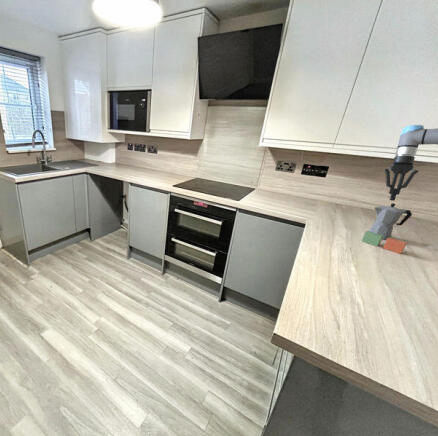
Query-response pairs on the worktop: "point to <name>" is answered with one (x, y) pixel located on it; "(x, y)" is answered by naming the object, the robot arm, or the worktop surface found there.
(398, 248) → the pair of rectangular blocks
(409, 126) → the robot arm
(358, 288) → the worktop surface
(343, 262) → the worktop surface
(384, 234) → the coffeepot
